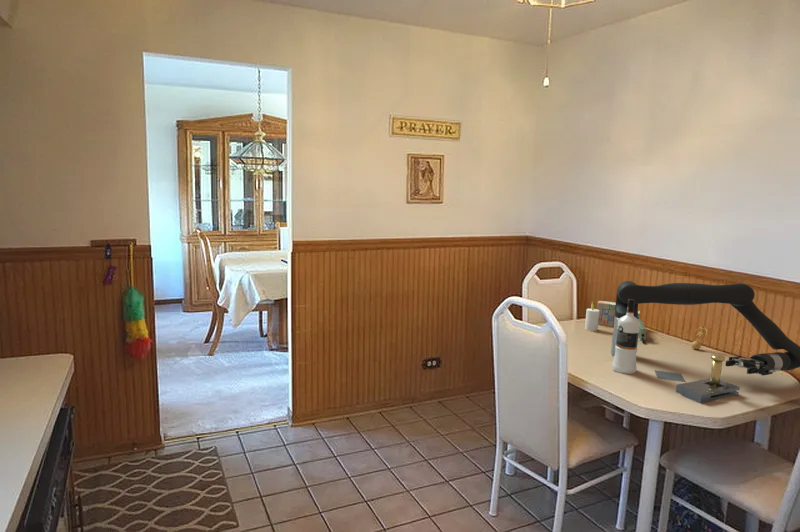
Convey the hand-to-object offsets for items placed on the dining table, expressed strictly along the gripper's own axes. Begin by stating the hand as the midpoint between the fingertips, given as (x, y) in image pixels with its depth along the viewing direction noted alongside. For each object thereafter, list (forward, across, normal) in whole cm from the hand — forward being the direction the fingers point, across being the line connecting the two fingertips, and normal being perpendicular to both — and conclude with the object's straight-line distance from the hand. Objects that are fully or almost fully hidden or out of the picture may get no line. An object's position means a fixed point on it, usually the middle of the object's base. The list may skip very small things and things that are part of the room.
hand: (737, 367), depth 204 cm
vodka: (+26, -28, +9) cm, 40 cm away
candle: (-5, -83, +9) cm, 84 cm away
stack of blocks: (-24, -85, +9) cm, 89 cm away
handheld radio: (-20, -64, +9) cm, 68 cm away
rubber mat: (+13, -18, +9) cm, 24 cm away
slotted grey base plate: (+15, 0, +9) cm, 17 cm away
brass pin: (+11, 0, +9) cm, 14 cm away
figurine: (-31, -41, +9) cm, 53 cm away
